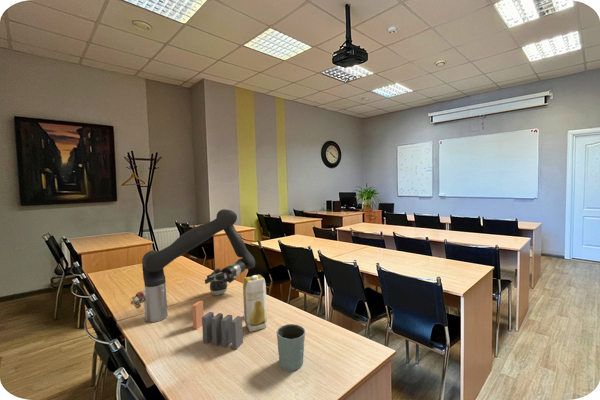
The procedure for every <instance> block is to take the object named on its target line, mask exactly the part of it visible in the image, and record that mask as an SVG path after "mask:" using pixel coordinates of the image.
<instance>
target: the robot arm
mask: <svg viewBox="0 0 600 400" xmlns="http://www.w3.org/2000/svg"><path fill="white" fill-rule="evenodd" d="M237 215H238V214H237V213H236V212H235V211H233V210H231V209H225V208H224V209H220V210H219V211H218V212H217V213H216V218H215V219H212V220H211V221H208V222H206V223H203V224H200V225H197V226H195V227H193V228H191V229H189V230H188V231H185V232H184V233H183V234H181V235H180V236H179V237H178V238H177V239H176V240H174V241H173V242H172V243H171V244H170V245H168V246H167V247H165V248H163V249H161V250H159V251H158V250H150V251H147V252H146V253H145V254H144V255H143V257H142V260H141V261H142V262H141V263H142V264H141V265H142V276H143V282H144V291H145V298H146V301H145V302H143V303H144V304H143V307H144V318H145V319H144V320H145V322H150V323H156V322H159V321H162V320H164V319H167V318H168V299H167V298H168V297H167V296H168V295H167V283H166V275H165V272H164V270H165V269H164V268H166V267H167V266H168V265H169V264H171V263H172V262H173V261H174V260H176V259H178V258H179V257H180V256H182V255H184V254H186V253H188V252H189V251H191V250H192V249H195V248H196V247H198V246H200V245H201V244H203V243H204V242H205V241H208V240H209V239H210V238H212V237H214V236H215V235H216V234H218V233H220V232H223V231H224V233H225V234H226V237H227V238H228V240H229V242H230V244H231V247H232V249H233V251H234V253H235V256H236V257H237V258H239V259H237V261H236V262H234V263H231V264H229V265H227V266H225V267H223V268H221V272H220V273H218V274H216V273H215V272H214V273H212V272H211V273H212V274H211V273H210V274H207V275H206V278H205V279H204V284H206V285H207V284H208V283H209V284H210V282H211V281H219V280H220V281H219V285H222V284H224V283H227V284H231V283H232V282H234V281H236V280H237V277H238V276H239V275H241V274H242V273H243V272H245V270H250V269H254V268H255V267H256V260H255V258H254V256H253V255H252V253H251V252H250V251H249V250H248V248H247V246H246V244H245V242H244V240H243V238H242V237H241V235H240V234H239V233H238V231H237V229H236V228H235V226H234V224H235V223H236V222H237V221H238V216H237ZM216 277H217V279H216ZM213 278H214V279H213Z"/></svg>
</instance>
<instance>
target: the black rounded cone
mask: <svg viewBox="0 0 600 400" xmlns="http://www.w3.org/2000/svg"><path fill="white" fill-rule="evenodd" d="M221 270H222V268H214V270H213V271H212V272H211V273H210V274H212V273H214V272H215V273H216V274H218V273H220V272H221ZM213 279H214V278H213ZM216 279H217V277H216ZM219 281H220V280H219ZM219 281H211V282H209V290H210V293H211V294H213V295H214V296H221V295H224V294H225V293H226V292H227V288H228V282H227V283H224V284H222V285H219Z"/></svg>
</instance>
